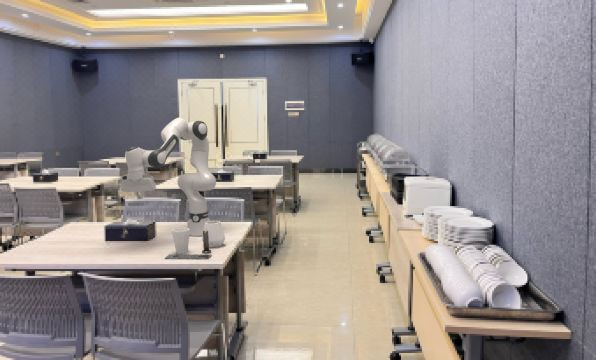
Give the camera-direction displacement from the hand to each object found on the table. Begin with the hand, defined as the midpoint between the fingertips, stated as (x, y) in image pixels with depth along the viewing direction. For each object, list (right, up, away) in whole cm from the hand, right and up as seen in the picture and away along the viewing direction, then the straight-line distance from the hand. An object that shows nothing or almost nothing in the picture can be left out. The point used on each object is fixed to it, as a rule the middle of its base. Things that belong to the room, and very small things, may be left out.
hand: (140, 198), depth 300 cm
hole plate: (+32, -31, -20) cm, 48 cm away
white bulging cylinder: (+42, -28, +4) cm, 50 cm away
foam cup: (+26, -30, -10) cm, 41 cm away
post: (+40, -29, -11) cm, 51 cm away
